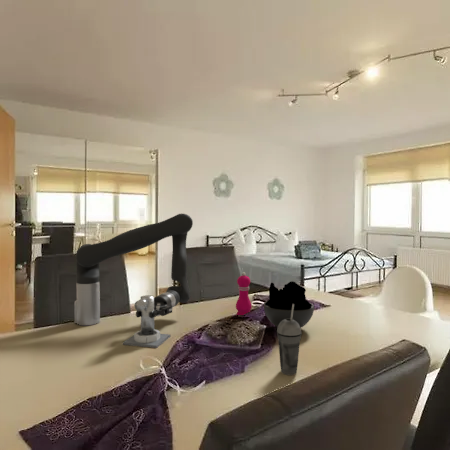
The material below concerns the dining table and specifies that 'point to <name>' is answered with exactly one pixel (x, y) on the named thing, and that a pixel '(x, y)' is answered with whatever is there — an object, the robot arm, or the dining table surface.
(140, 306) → the duct elbow
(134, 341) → the plate
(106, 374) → the dining table surface
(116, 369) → the dining table surface
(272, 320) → the bowl of black rocks
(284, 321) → the beverage cup
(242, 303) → the pepper mill
